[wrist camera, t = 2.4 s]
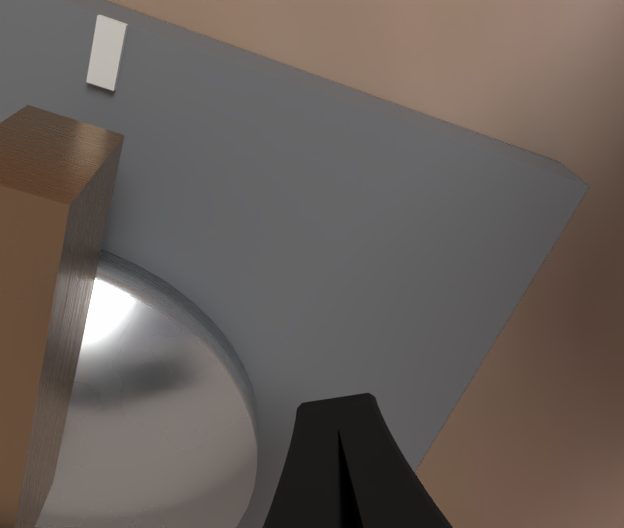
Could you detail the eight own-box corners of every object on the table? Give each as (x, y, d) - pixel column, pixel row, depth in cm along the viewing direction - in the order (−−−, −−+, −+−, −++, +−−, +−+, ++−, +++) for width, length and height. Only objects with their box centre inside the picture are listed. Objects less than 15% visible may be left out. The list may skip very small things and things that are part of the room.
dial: (199, 588, 18) (173, 792, 14) (-195, 524, 16) (-372, 742, 12) (368, 189, 12) (418, 334, 8) (-238, -5, 10) (-651, 41, 5)
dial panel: (560, 162, 14) (593, 189, 12) (289, 632, 23) (290, 679, 21) (-472, -206, 10) (-604, -231, 8) (-308, 541, 19) (-357, 592, 17)
